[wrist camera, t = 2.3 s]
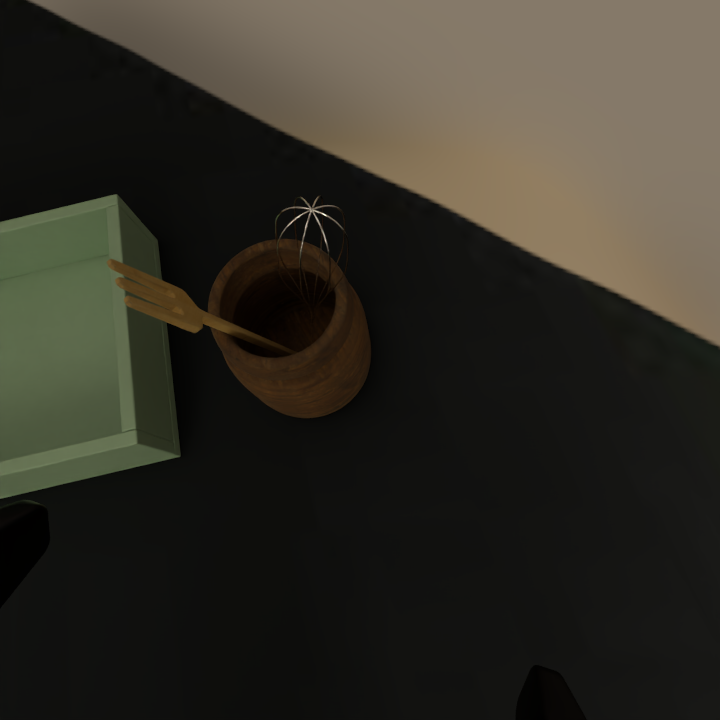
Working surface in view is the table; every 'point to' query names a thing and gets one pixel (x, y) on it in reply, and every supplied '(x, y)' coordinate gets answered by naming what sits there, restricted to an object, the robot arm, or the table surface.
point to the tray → (79, 350)
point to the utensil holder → (276, 321)
